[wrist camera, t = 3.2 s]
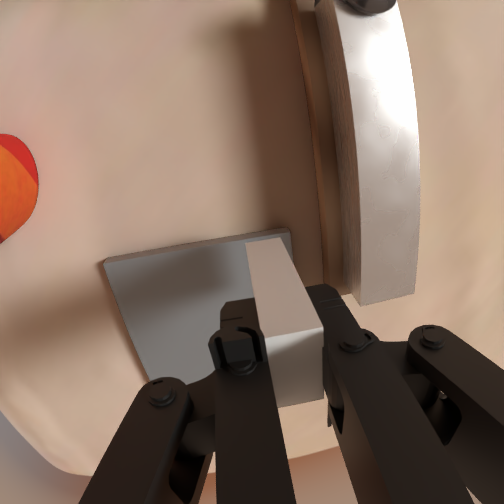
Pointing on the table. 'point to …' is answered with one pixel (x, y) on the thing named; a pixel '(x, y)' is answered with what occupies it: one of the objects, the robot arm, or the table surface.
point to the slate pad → (182, 299)
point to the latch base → (321, 140)
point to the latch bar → (373, 145)
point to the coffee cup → (16, 185)
